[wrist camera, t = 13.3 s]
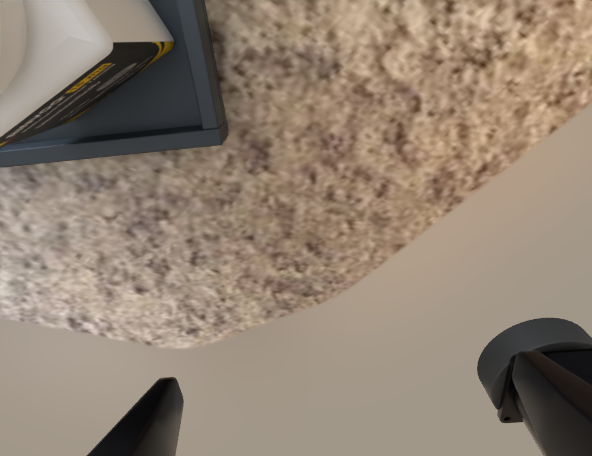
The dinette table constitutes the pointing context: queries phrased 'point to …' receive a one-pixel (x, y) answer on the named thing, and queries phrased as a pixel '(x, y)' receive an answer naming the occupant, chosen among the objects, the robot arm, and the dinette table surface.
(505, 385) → the robot arm
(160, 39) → the medicine bottle
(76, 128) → the tray
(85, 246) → the dinette table surface
